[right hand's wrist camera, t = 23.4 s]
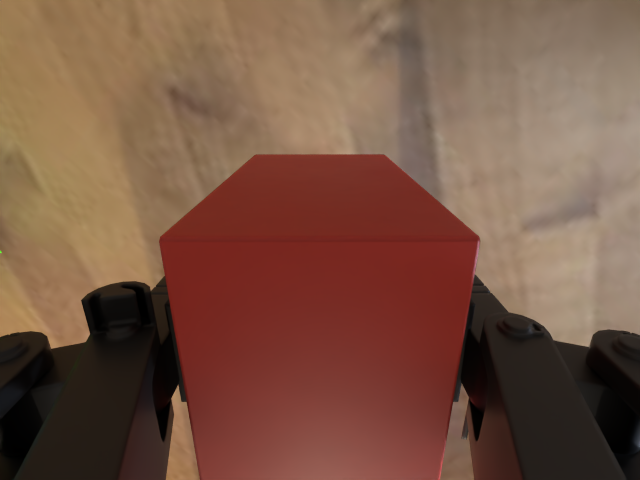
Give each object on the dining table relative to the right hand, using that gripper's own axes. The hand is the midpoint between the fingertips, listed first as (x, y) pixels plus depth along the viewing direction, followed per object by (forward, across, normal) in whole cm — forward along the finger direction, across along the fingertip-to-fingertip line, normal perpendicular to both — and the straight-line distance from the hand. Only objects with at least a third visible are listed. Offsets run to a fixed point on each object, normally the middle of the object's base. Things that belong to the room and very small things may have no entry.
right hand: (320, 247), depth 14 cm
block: (+1, 0, 0) cm, 1 cm away
